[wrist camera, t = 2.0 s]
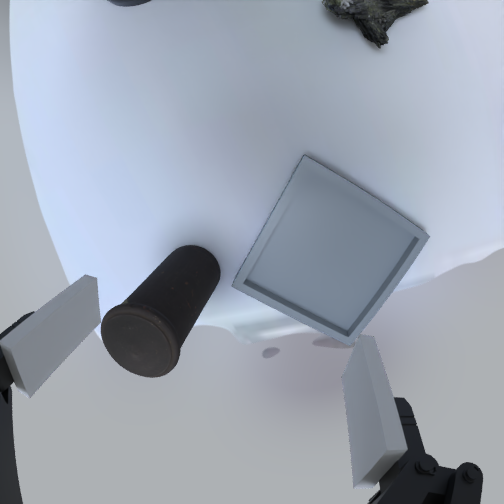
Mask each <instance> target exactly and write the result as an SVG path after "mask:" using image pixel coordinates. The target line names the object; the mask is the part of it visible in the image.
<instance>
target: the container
mask: <svg viewBox="0 0 504 504" xmlns="http://www.w3.org/2000/svg"><path fill="white" fill-rule="evenodd" d="M219 279H220V268H219V265H218V262H217V261H216V259H215V258H214V256H213V255H212V254H211V253H210V252H208V251H207V250H205V249H203V248H201V247H198V246H191V245H189V246H183V247H180V248H178V249H176V250H175V251H173V252H172V253H171V254H170V255H169V256H168V257H167V258H166V259H165V260H164V261H163V262H162V263H161V264H160V265H159V266H158V267H157V268H156V269H155V270H154V271H153V272H152V273H151V274H150V275H149V277H147V279H146V280H145V281H144V282H143V283H142V284H141V285H140V286H139V287H138V288H137V289H136V290H135V291H134V292H133V293H132V294H131V295H130V296H129V297H128V298H127V299H126V300H125V301H124V302H123V303H122V304H120V305H117V306H115V307H113V308H112V309H110V310H109V311H108V312H107V313H106V315H105V316H104V318H103V320H102V323H101V336H102V340H103V343H104V345H105V347H106V349H107V351H108V352H109V354H110V355H111V357H112V358H113V359H114V360H115V361H116V362H117V363H118V364H119V365H120V366H122V367H123V368H125V369H126V370H128V371H130V372H132V373H134V374H137V375H140V376H144V377H152V378H153V377H160V376H163V375H166V374H167V373H169V372H170V371H171V370H172V369H173V368H174V367H175V366H176V364H177V362H178V360H179V356H180V348H181V346H182V345H183V343H184V341H185V339H186V337H187V336H188V334H189V332H190V331H191V329H192V327H193V326H194V324H195V322H196V320H197V319H198V317H199V315H200V313H201V312H202V310H203V308H204V307H205V305H206V303H207V302H208V300H209V298H210V296H211V295H212V293H213V291H214V290H215V288H216V286H217V284H218V282H219Z"/></svg>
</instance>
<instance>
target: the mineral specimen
mask: <svg viewBox="0 0 504 504" xmlns="http://www.w3.org/2000/svg"><path fill="white" fill-rule="evenodd" d="M322 3H323V5H325V7H326V9H327V10H328V11H332V12H333V13H334V14H335V15H337V17H339V18H342V19H347V18H353V19H354V21H355V23H356V25H357V26H358V27H359V28H360V29H361V31H362V33H363V35H364V37H365V38H367V39H368V40H370V41H371V42H375V44H376V45H377V46H378V48H381V45H384V44H387V43H388V42H387V41H388V40H389V38H388V36H387V34H386V33H385V32H386V31H387V30H388V28H389V27H390V26H391V25H392V24H393V22H394V21H395V20H396V19H397V18H399V17H402V16H404V15H406V14H408V13H411V11H412V10H413V9H416V8H419V7H421V6H423V5H426V4H428V1H427V0H323V1H322Z"/></svg>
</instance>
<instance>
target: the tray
mask: <svg viewBox="0 0 504 504" xmlns="http://www.w3.org/2000/svg"><path fill="white" fill-rule="evenodd" d="M429 237H430V236H429V235H428V234H427V233H425V232H424V231H423V230H421V229H420V228H419V227H417V226H416V225H414V224H413V223H412V222H410V221H409V220H407V219H406V218H404V217H403V216H402V215H400V214H399V213H397V212H396V211H394V210H393V209H391V208H390V207H388V206H387V205H385V204H384V203H382V202H381V201H379V200H378V199H376V198H375V197H373V196H372V195H370V194H369V193H367V192H365V191H364V190H362V189H361V188H359V187H358V186H356V185H354V184H353V183H351V182H350V181H348V180H346V179H345V178H343V177H341V176H340V175H338V174H336V173H335V172H333V171H331V170H330V169H328V168H326V167H325V166H323V165H321V164H319V163H318V162H316V161H314V160H312V159H311V158H309V157H307V156H305V155H304V156H303V157H302V159H301V161H300V163H299V164H298V166H297V168H296V170H295V172H294V173H293V175H292V177H291V179H290V181H289V182H288V184H287V186H286V188H285V190H284V191H283V193H282V195H281V197H280V198H279V200H278V202H277V204H276V206H275V207H274V209H273V211H272V213H271V215H270V216H269V218H268V220H267V222H266V224H265V225H264V227H263V229H262V231H261V233H260V234H259V236H258V238H257V240H256V241H255V243H254V245H253V247H252V249H251V250H250V252H249V254H248V256H247V258H246V259H245V261H244V263H243V265H242V267H241V268H240V270H239V272H238V274H237V276H236V277H235V279H234V282H233V284H232V287H234V288H236V289H237V290H239V291H241V292H243V293H245V294H247V295H249V296H251V297H253V298H255V299H257V300H258V301H260V302H262V303H264V304H266V305H268V306H270V307H272V308H274V309H276V310H278V311H280V312H282V313H284V314H286V315H288V316H290V317H292V318H294V319H296V320H298V321H300V322H302V323H304V324H306V325H308V326H310V327H312V328H314V329H316V330H318V331H320V332H322V333H324V334H326V335H328V336H330V337H332V338H334V339H336V340H338V341H341V342H343V343H345V344H347V345H349V346H350V345H351V344H352V343H353V342H354V341H355V339H356V338H357V337H358V336H359V334H360V333H361V332H362V331H363V330H364V328H365V327H366V326H367V325H368V323H369V322H370V321H371V320H372V318H373V317H374V316H375V314H376V313H377V311H378V310H379V309H380V308H381V307H382V305H383V304H384V302H385V301H386V300H387V299H388V297H389V296H390V294H391V293H392V292H393V290H394V289H395V288H396V286H397V285H398V284H399V282H400V281H401V279H402V278H403V276H404V275H405V274H406V272H407V271H408V269H409V268H410V266H411V265H412V263H413V262H414V260H415V259H416V257H417V256H418V254H419V253H420V251H421V250H422V248H423V247H424V245H425V244H426V242H427V241H428V239H429Z"/></svg>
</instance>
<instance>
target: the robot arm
mask: <svg viewBox="0 0 504 504" xmlns="http://www.w3.org/2000/svg"><path fill="white" fill-rule="evenodd" d="M108 1H109V2H111V3H113V4H115V5H118V6H134V5H139V4H142V3H145V2H148V1H150V0H108ZM100 323H101V318H100V309H99V298H98V286H97V278H96V277H92V276H89V275H84V276H83V277H81V278H80V279H79V280H77V281H76V282H74V283H73V284H72V285H70V286H69V287H68V288H66V289H65V290H64V291H62V292H61V293H60V294H58V295H57V296H56V297H54V298H53V299H52V300H50V301H49V302H48V303H46V304H45V305H44V306H42V307H41V308H40V309H38V310H37V311H36V312H34V311H33V312H31V313H28V314H26V315H24V316H23V317H21V318H20V319H19V320H17V322H15V323H14V324H12V326H10V327H8V328H7V329H6V330H5V331H3V332H2V333H1V334H0V504H23V502H22V497H21V492H20V486H19V480H18V474H17V466H16V459H15V449H14V438H13V420H12V389H11V387H10V385H11V384H12V383H13V382H14V383H15V385H16V387H17V390H18V391H19V392H20V393H22V394H24V395H25V396H27V397H28V398H31V397H32V395H33V394H34V393H35V392H36V391H37V390H38V389H39V388H40V386H41V385H42V384H43V383H44V382H45V381H46V380H47V379H48V378H49V376H50V375H51V374H52V373H53V372H54V371H55V370H56V369H57V368H58V367H59V365H61V363H62V362H63V361H64V360H65V359H66V358H67V357H68V356H69V355H70V354H71V353H72V352H73V351H74V350H75V349H76V347H77V346H78V345H79V344H80V343H81V342H82V341H83V340H84V339H85V338H86V337H87V336H88V335H89V334H90V333H91V332H92V331H93V330H94V329H95V328H96V327H97V326H98V325H99V324H100ZM342 384H343V392H344V399H345V407H346V415H347V423H348V432H349V442H350V452H351V463H352V474H353V488H373V486H375V485H376V484H377V483H378V482H379V484H380V490H379V491H378V492H377V493H376V494H375V495H374V496H373V497H372V498H371V499H370V500H369V503H368V504H480V501H481V493H482V484H483V474H482V471H481V470H480V468H479V467H478V466H477V465H475V464H473V463H469V462H466V463H463V464H461V465H460V466H459V467H458V468H457V469H451V468H446V467H441V466H439V465H438V463H437V461H436V460H435V459H434V458H433V457H432V456H431V455H428V454H426V453H425V450H424V446H423V443H422V439H421V436H420V433H419V429H418V426H416V424H417V423H416V420H415V418H414V414H413V411H412V408H411V406H410V404H409V403H408V402H407V401H406V400H405V398H397V397H396V398H395V397H393V394H392V391H391V387H390V384H389V380H388V377H387V374H386V371H385V368H384V365H383V362H382V359H381V356H380V353H379V350H378V347H377V344H376V341H375V338H374V336H369V335H361V334H359V336H358V339H357V341H356V344H355V346H354V349H353V351H352V354H351V356H350V358H349V361H348V364H347V366H346V368H345V370H344V373H343V375H342Z"/></svg>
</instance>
